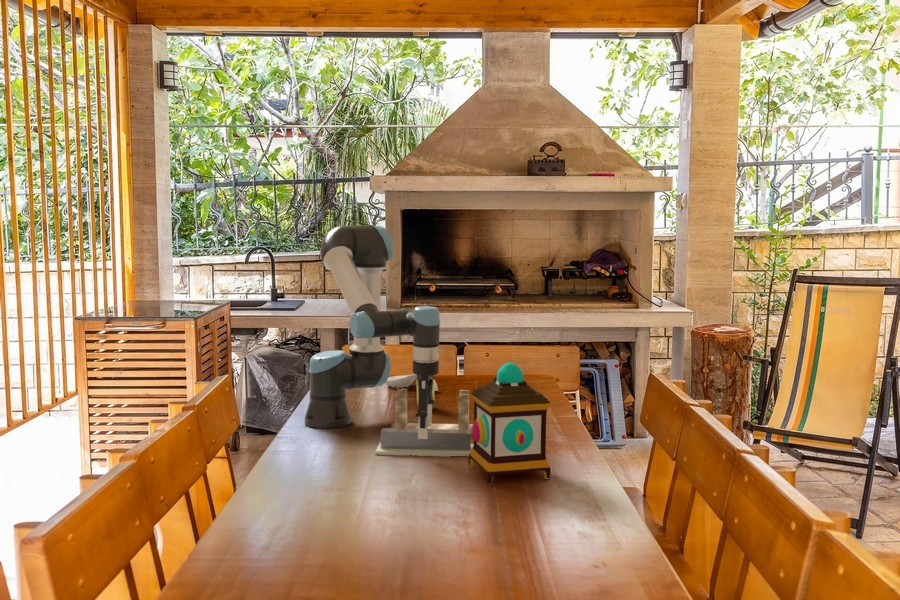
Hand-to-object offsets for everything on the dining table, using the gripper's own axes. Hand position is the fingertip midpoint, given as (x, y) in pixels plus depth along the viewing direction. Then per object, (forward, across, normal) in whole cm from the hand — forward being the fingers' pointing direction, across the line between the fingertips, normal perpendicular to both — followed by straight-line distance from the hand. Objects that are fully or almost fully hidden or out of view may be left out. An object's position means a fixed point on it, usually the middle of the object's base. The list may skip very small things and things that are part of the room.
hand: (424, 432), depth 247 cm
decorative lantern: (+5, -20, -24) cm, 32 cm away
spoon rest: (+8, +87, +13) cm, 88 cm away
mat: (+5, 0, 0) cm, 6 cm away
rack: (+6, +24, 0) cm, 24 cm away
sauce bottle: (+7, +54, +5) cm, 54 cm away
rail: (+4, 0, 0) cm, 5 cm away
